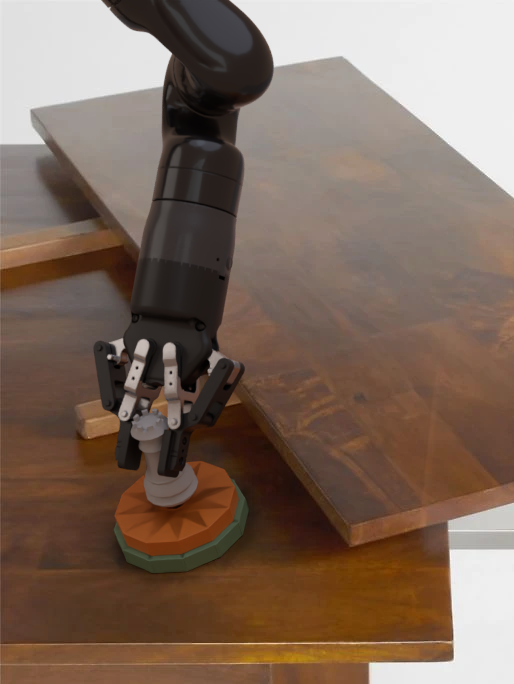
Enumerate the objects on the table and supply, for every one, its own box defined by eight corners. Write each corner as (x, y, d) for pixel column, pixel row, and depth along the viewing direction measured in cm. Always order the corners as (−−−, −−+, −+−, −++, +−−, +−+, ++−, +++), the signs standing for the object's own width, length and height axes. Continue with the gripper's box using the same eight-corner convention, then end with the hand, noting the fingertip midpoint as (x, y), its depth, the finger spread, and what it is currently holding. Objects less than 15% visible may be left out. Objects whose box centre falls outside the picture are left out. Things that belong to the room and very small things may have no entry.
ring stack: (106, 576, 115) (95, 550, 113) (136, 487, 123) (127, 462, 122) (234, 569, 113) (226, 542, 111) (257, 479, 122) (249, 453, 120)
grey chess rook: (173, 516, 113) (146, 442, 109) (136, 500, 116) (108, 426, 111) (210, 483, 116) (185, 409, 111) (173, 468, 118) (147, 395, 114)
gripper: (87, 247, 113) (49, 456, 112) (235, 262, 107) (196, 483, 106) (139, 266, 119) (104, 463, 118) (281, 281, 114) (245, 489, 113)
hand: (147, 471), depth 112 cm, fingers closed on grey chess rook, 3 cm apart
